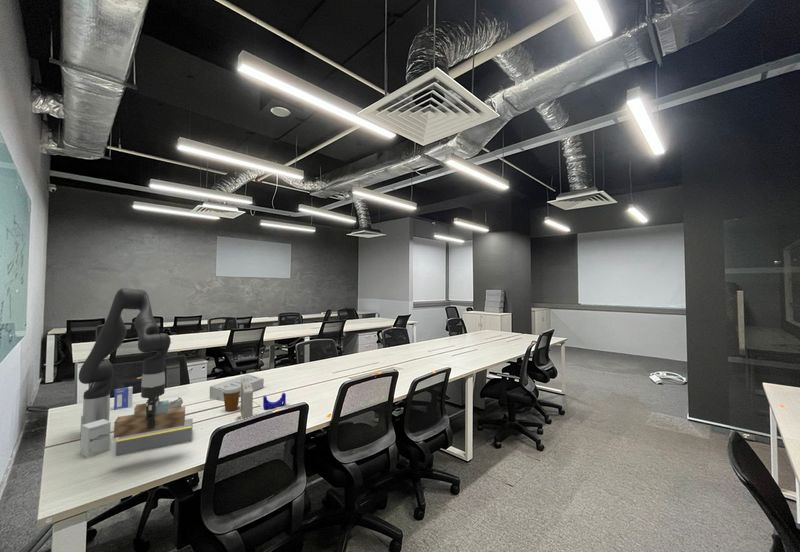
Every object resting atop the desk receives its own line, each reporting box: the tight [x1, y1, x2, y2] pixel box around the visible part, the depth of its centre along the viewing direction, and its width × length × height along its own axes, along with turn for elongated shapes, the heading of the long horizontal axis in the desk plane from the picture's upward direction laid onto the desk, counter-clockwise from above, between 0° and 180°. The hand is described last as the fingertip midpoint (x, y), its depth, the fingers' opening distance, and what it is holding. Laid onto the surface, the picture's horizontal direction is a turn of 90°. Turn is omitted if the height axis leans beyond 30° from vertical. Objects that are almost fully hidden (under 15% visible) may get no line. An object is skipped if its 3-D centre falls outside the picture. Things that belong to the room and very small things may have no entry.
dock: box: [115, 418, 194, 456], centre depth 143 cm, size 26×12×6 cm, turn 121°
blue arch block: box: [262, 392, 287, 410], centre depth 187 cm, size 12×4×6 cm, turn 120°
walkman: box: [113, 386, 134, 411], centre depth 182 cm, size 8×3×12 cm, turn 134°
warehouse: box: [209, 373, 264, 402], centre depth 211 cm, size 30×14×8 cm, turn 160°
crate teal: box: [155, 399, 169, 415], centre depth 130 cm, size 4×4×4 cm
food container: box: [168, 396, 184, 409], centre depth 166 cm, size 12×6×10 cm, turn 168°
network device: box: [234, 378, 254, 422], centre depth 164 cm, size 26×9×20 cm, turn 30°
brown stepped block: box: [113, 406, 186, 439], centre depth 129 cm, size 22×6×6 cm, turn 121°
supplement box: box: [79, 419, 111, 459], centre depth 134 cm, size 7×7×13 cm
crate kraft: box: [133, 402, 146, 418], centre depth 127 cm, size 4×4×4 cm
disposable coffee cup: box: [222, 385, 241, 411], centre depth 183 cm, size 10×10×12 cm
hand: (152, 425), depth 129 cm, fingers closed on brown stepped block, 5 cm apart
